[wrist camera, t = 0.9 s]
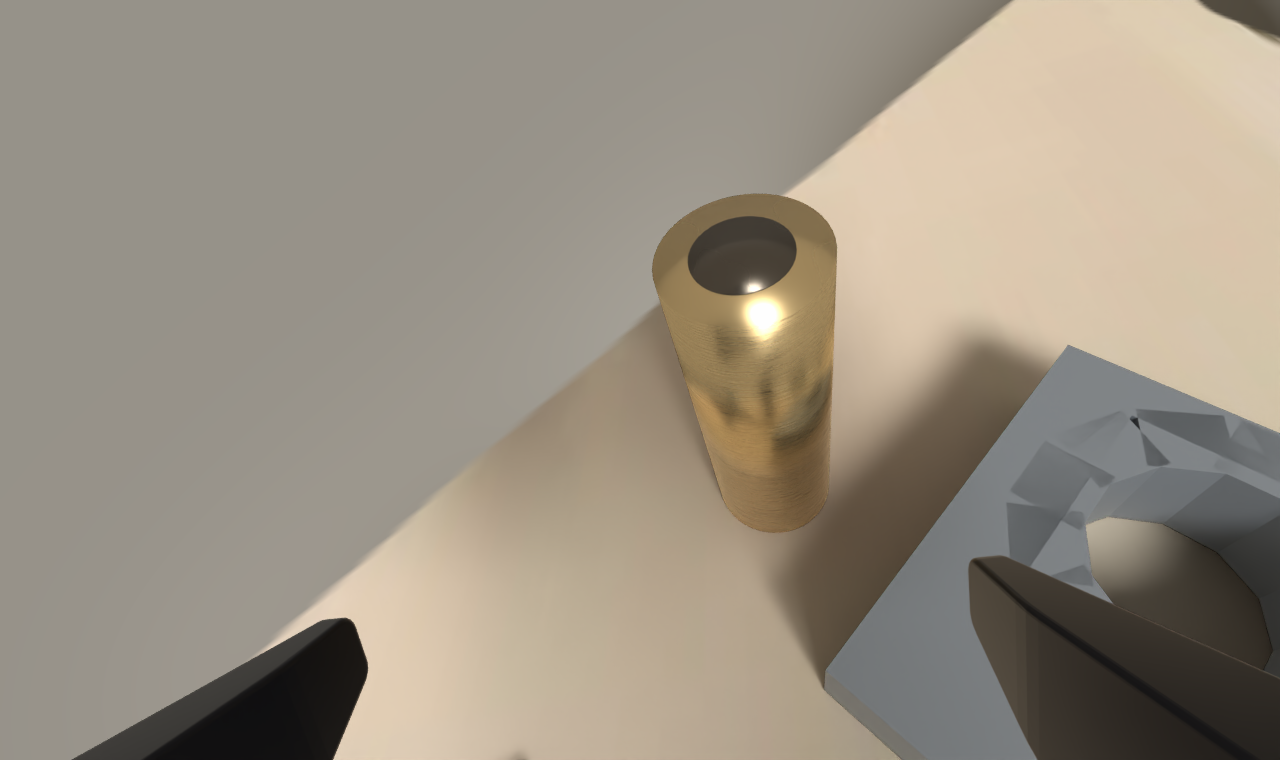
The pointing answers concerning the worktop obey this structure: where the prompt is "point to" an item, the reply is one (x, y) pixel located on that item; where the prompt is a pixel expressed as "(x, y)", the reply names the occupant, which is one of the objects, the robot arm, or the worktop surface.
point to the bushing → (756, 348)
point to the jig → (1056, 544)
